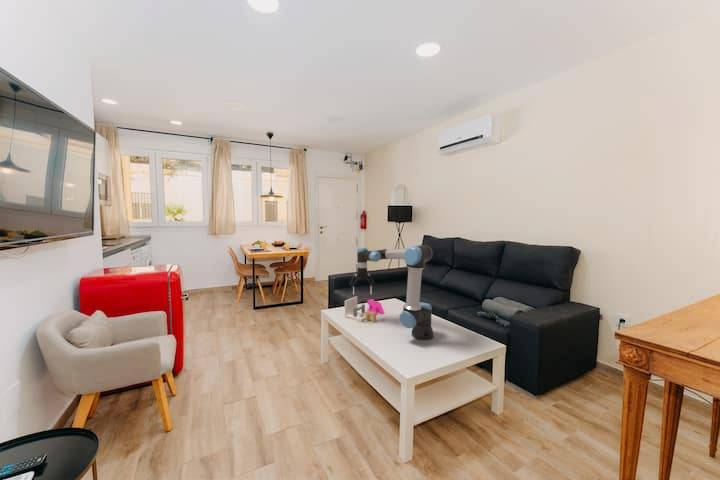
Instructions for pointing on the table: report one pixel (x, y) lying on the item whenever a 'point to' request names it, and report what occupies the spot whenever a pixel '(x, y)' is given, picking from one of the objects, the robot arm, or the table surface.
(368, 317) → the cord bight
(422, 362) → the table surface
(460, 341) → the table surface
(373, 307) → the magenta lumpy block
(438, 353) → the table surface
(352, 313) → the shelf
